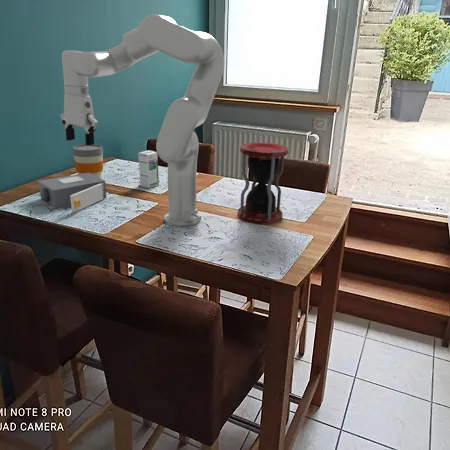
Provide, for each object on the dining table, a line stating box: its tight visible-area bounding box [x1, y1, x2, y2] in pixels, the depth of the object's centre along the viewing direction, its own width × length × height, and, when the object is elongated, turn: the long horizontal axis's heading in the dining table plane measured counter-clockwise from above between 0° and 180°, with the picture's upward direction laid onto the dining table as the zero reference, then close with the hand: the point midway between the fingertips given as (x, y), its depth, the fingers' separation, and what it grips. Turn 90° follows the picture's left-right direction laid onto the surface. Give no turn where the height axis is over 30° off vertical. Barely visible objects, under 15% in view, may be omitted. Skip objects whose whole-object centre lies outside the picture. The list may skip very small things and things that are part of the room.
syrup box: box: [137, 149, 160, 189], centre depth 181 cm, size 6×6×14 cm
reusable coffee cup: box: [72, 143, 104, 179], centre depth 184 cm, size 13×13×15 cm
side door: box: [70, 183, 105, 213], centre depth 157 cm, size 2×17×6 cm, turn 157°
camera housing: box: [38, 173, 107, 210], centre depth 164 cm, size 14×21×7 cm, turn 132°
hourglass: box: [237, 141, 289, 225], centre depth 149 cm, size 16×16×25 cm
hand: (80, 142), depth 148 cm, fingers open, 9 cm apart
